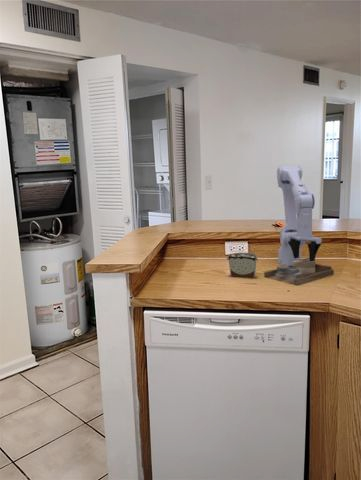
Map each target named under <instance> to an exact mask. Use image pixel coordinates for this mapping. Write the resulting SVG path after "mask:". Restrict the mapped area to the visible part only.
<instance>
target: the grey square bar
mask: <svg viewBox="0 0 361 480" xmlns="http://www.w3.org/2000/svg"><path fill="white" fill-rule="evenodd" d="M276 269H277V273H276V274H275V277H277V278H281V279H285V280H289V281H293V282H295V279H299V278H302V273H300V272H299V269H297V268H292V267H288V266H286V265H279V266H277V267H276Z"/></svg>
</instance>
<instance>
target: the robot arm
mask: <svg viewBox="0 0 361 480" xmlns="http://www.w3.org/2000/svg"><path fill="white" fill-rule="evenodd" d="M302 177H303V168H302V166H301V165H295V166H294V165H291V166H290V165H289V166H279V167H278V168H277V170H276V179H277V185H278V188H280V189H281V190H282V195H283V197H282V198H283V205H284V206H283V207H284V215H285V225H284V226H282V227H281V229H280V232H279V233H280V234H279V240H280V241H279V242H280V245H281V246H280V247H279V249H278V254H277V255H278V257H277V259H278V260H277V262H278V264H279V265H281V266H291V265H292V262H293V261H297V260H301V259H302V248H303V246H304V245H305V243H307V248H308V253H309V257H308V258H309V259H310V261H314V260H315V261H316V256H317V253H318V251H319V249H320V247H321V245H322V240H323V239H322V237H317V236H314V235H313V209H314V207H315V195H314V194H313V193H311V192H309V190H308V188H307V185H306V184H304V183H303V182H302Z"/></svg>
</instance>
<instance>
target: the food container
mask: <svg viewBox="0 0 361 480" xmlns="http://www.w3.org/2000/svg"><path fill="white" fill-rule="evenodd" d="M226 260H228V264H229V272H230V278H243V279H252V280H253V279H255V277H256V268H257V262H258V261H259V260H258V256H257V254H256V253H251V252H234V253H233V252H232V253H229V254H228V255H227V258H226Z"/></svg>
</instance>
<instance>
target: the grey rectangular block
mask: <svg viewBox="0 0 361 480" xmlns="http://www.w3.org/2000/svg"><path fill="white" fill-rule="evenodd" d="M315 264H316V259H315V260H314V261H310V259H309V257H305V258H301V260H297V261H293V262H292V268H297V269H299V272H300V273H302V276H305V275H308V274H312V273H315Z"/></svg>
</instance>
